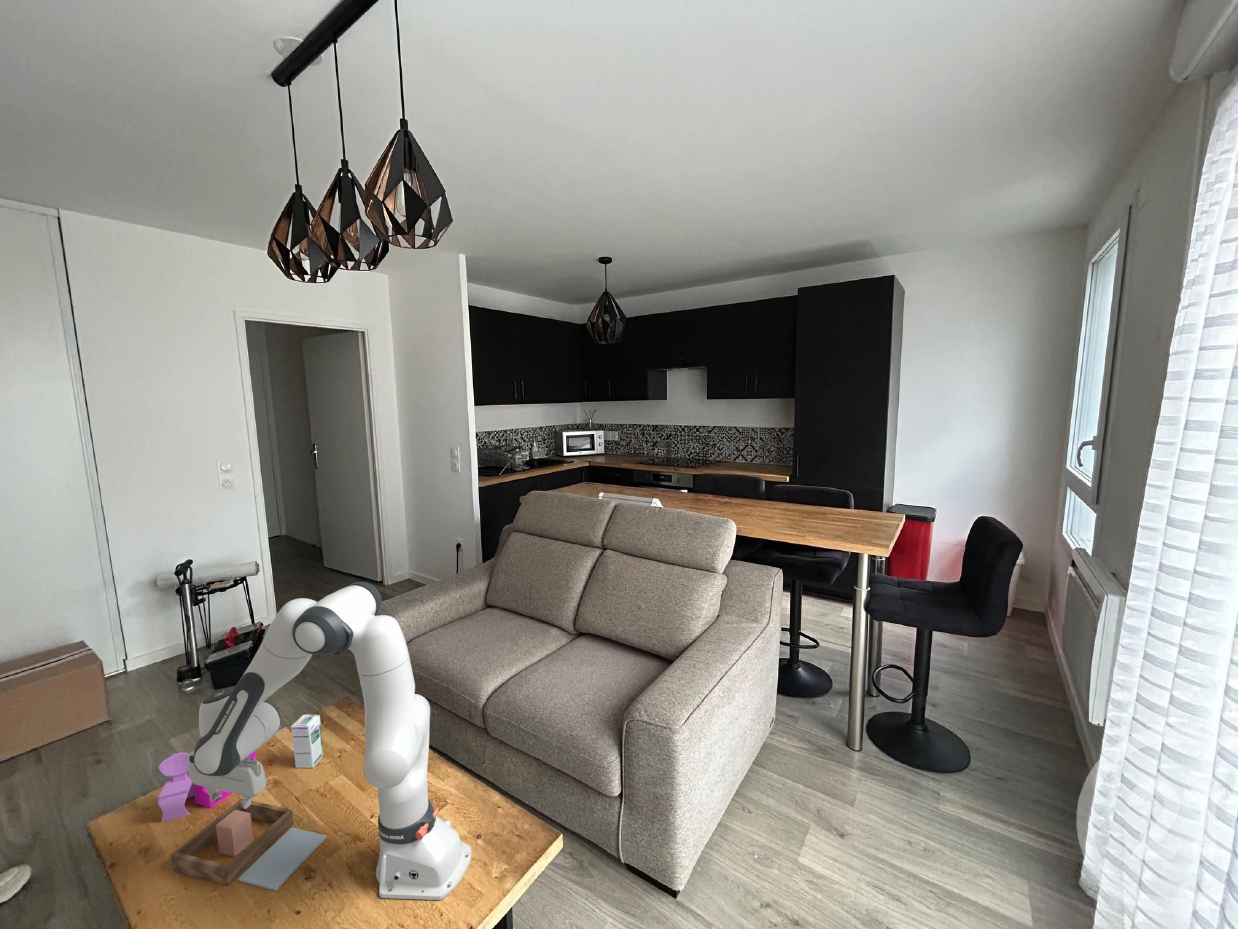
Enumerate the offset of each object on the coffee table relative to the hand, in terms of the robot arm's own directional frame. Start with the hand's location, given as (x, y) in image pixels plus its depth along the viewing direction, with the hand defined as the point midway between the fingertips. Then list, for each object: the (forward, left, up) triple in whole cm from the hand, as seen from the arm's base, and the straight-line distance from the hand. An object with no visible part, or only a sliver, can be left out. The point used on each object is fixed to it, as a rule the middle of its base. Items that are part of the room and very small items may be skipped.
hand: (230, 803), depth 129 cm
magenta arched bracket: (+21, -16, -13) cm, 30 cm away
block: (0, 0, -13) cm, 13 cm away
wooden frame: (0, 0, -13) cm, 13 cm away
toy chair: (+27, -6, -13) cm, 31 cm away
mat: (-15, 0, -13) cm, 20 cm away
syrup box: (+7, -30, -13) cm, 33 cm away
